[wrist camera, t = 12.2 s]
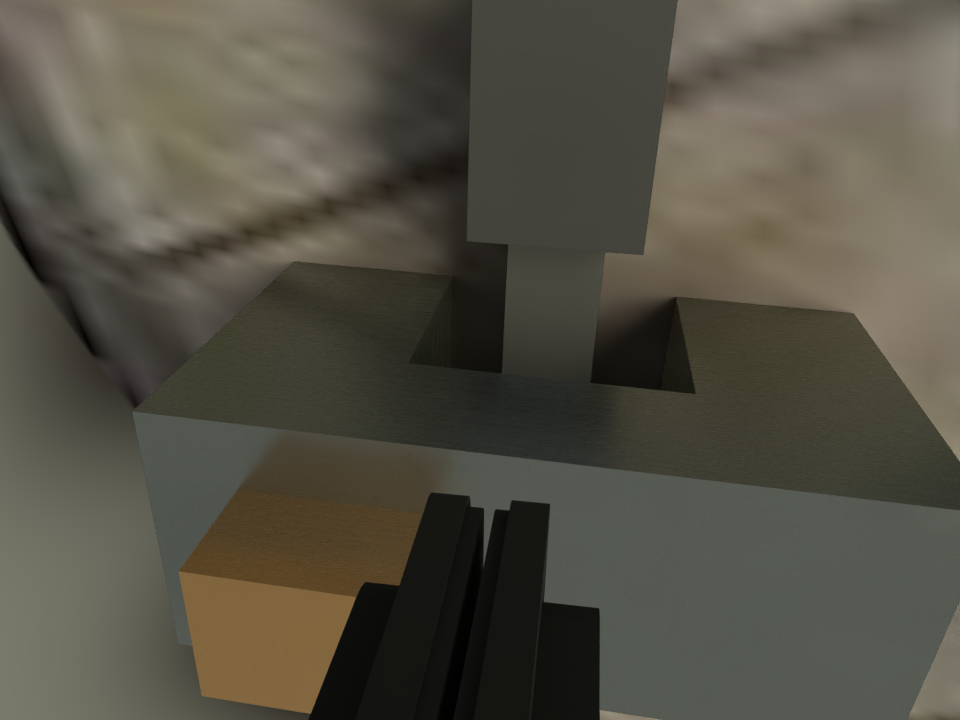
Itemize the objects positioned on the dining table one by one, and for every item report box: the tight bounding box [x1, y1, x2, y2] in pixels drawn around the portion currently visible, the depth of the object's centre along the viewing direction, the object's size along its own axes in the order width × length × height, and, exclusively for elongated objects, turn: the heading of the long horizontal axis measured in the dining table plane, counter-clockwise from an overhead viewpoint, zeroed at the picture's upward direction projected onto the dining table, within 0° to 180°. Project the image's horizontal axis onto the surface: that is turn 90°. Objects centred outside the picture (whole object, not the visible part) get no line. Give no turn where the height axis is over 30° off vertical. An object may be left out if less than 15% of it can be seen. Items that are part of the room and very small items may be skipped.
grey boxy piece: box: [132, 262, 960, 720], centre depth 23 cm, size 20×8×14 cm, turn 88°
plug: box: [467, 0, 678, 383], centre depth 25 cm, size 5×24×5 cm, turn 178°
